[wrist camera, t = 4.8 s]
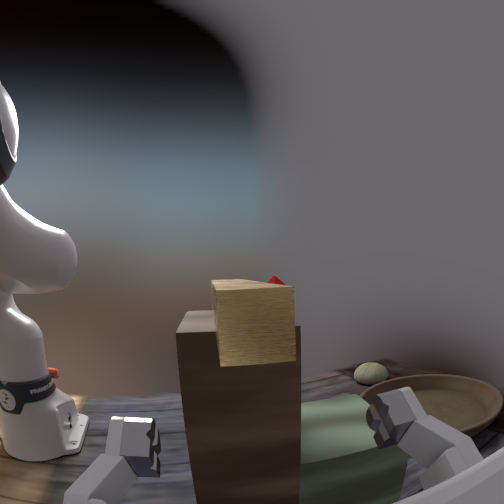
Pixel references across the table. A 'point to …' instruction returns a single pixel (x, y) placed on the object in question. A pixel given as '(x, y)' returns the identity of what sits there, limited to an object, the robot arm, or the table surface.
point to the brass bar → (253, 322)
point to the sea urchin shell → (370, 373)
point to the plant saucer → (449, 399)
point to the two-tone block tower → (275, 432)
